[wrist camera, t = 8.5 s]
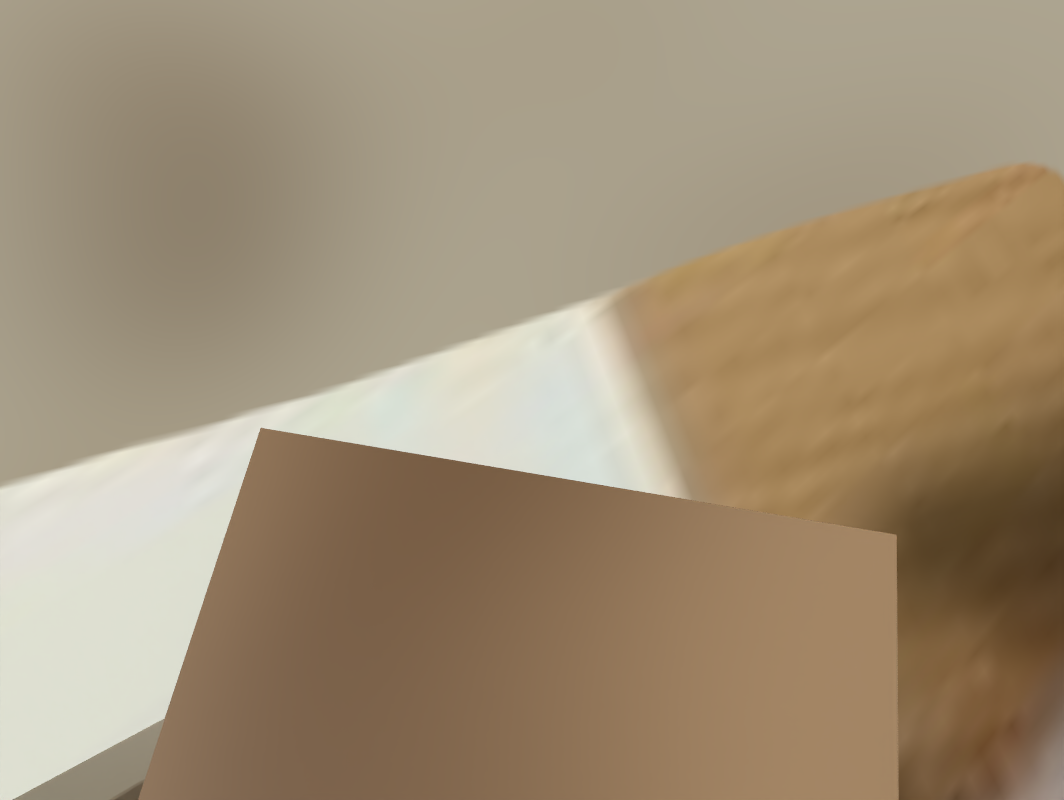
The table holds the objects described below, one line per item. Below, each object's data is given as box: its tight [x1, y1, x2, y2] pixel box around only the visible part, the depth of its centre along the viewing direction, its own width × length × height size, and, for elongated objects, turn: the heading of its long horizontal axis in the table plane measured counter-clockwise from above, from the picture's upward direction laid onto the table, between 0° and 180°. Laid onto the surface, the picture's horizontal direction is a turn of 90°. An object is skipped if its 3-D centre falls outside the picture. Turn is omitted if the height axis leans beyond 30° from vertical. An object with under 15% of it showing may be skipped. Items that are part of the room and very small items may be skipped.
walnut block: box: [138, 428, 898, 800], centre depth 10 cm, size 5×5×12 cm
